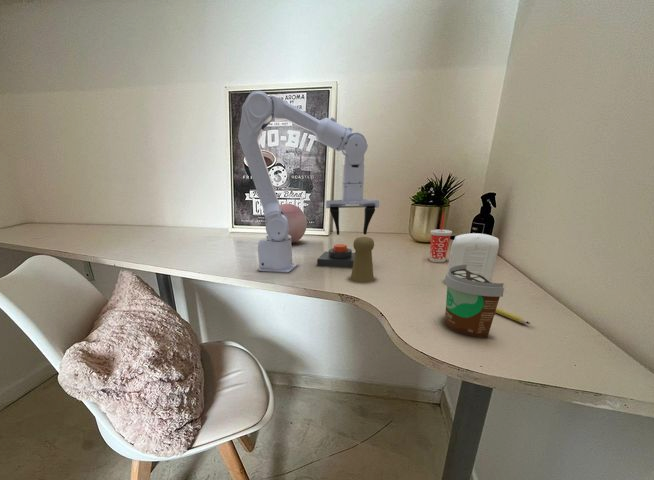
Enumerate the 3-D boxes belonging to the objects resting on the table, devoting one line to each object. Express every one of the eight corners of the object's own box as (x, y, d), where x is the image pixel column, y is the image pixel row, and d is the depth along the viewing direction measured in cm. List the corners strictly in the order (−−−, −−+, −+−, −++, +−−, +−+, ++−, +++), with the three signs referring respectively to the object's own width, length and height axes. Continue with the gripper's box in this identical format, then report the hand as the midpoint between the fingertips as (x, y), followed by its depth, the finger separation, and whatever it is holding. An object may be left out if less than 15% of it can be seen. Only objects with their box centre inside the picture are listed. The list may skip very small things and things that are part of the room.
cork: (373, 283, 85) (375, 240, 80) (349, 282, 86) (350, 239, 82) (374, 276, 90) (376, 235, 86) (351, 275, 91) (353, 235, 87)
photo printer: (489, 282, 83) (499, 232, 78) (492, 288, 80) (503, 236, 75) (445, 279, 86) (452, 231, 81) (446, 285, 82) (453, 234, 77)
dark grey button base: (317, 266, 101) (317, 253, 99) (325, 258, 110) (325, 245, 108) (356, 268, 98) (357, 254, 96) (361, 259, 106) (362, 247, 105)
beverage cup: (426, 262, 102) (432, 214, 96) (427, 257, 107) (433, 212, 102) (447, 263, 100) (454, 215, 94) (448, 258, 105) (455, 212, 100)
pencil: (528, 326, 60) (529, 321, 60) (466, 301, 72) (467, 297, 72) (531, 325, 61) (533, 320, 60) (469, 300, 72) (470, 296, 72)
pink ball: (314, 243, 131) (314, 203, 125) (281, 249, 123) (279, 206, 117) (294, 238, 142) (292, 201, 136) (262, 242, 134) (259, 203, 128)
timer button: (332, 252, 101) (332, 246, 100) (335, 249, 104) (335, 244, 104) (345, 253, 100) (345, 247, 99) (347, 250, 103) (347, 244, 103)
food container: (427, 313, 67) (433, 265, 63) (456, 312, 67) (465, 263, 63) (457, 342, 56) (467, 286, 52) (492, 340, 56) (505, 284, 52)
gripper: (325, 184, 87) (325, 236, 93) (381, 183, 86) (378, 236, 92) (326, 183, 94) (326, 232, 99) (378, 182, 93) (375, 231, 98)
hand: (351, 234), depth 96 cm, fingers open, 7 cm apart
